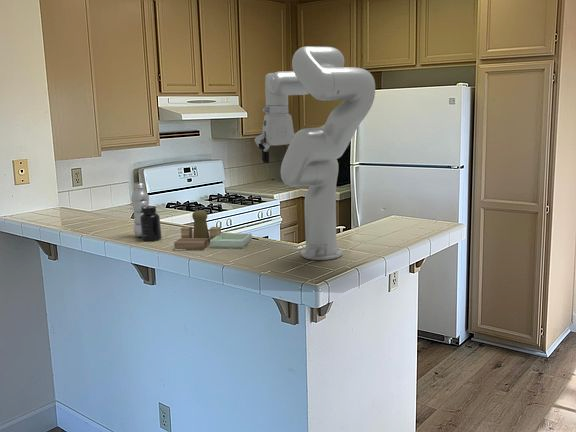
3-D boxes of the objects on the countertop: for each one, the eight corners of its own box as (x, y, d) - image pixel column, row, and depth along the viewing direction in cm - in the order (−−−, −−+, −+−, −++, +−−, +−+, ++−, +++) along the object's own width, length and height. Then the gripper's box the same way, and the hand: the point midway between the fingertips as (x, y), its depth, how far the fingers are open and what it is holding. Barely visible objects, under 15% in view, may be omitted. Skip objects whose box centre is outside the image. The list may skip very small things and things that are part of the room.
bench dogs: (218, 242, 197) (217, 228, 196) (181, 242, 200) (180, 228, 199) (221, 240, 200) (220, 226, 199) (185, 240, 203) (184, 226, 202)
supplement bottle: (151, 236, 211) (149, 204, 208) (165, 238, 207) (162, 205, 205) (138, 240, 205) (135, 208, 203) (152, 242, 201) (149, 209, 199)
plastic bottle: (139, 239, 207) (134, 184, 203) (131, 236, 212) (126, 183, 208) (155, 236, 211) (151, 182, 207) (147, 233, 216) (143, 181, 212)
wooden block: (203, 251, 188) (203, 242, 187) (174, 251, 189) (174, 242, 189) (208, 246, 194) (208, 238, 193) (180, 246, 195) (180, 238, 195)
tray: (242, 248, 188) (242, 241, 187) (210, 247, 190) (209, 240, 190) (251, 240, 199) (251, 233, 198) (221, 240, 201) (220, 233, 201)
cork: (206, 243, 196) (204, 212, 194) (190, 243, 198) (188, 212, 196) (212, 239, 202) (210, 209, 200) (196, 239, 203) (194, 209, 201)
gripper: (259, 112, 183) (261, 165, 187) (305, 110, 192) (305, 160, 195) (249, 111, 190) (251, 162, 193) (293, 109, 198) (294, 158, 202)
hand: (278, 161), depth 194 cm, fingers open, 9 cm apart
